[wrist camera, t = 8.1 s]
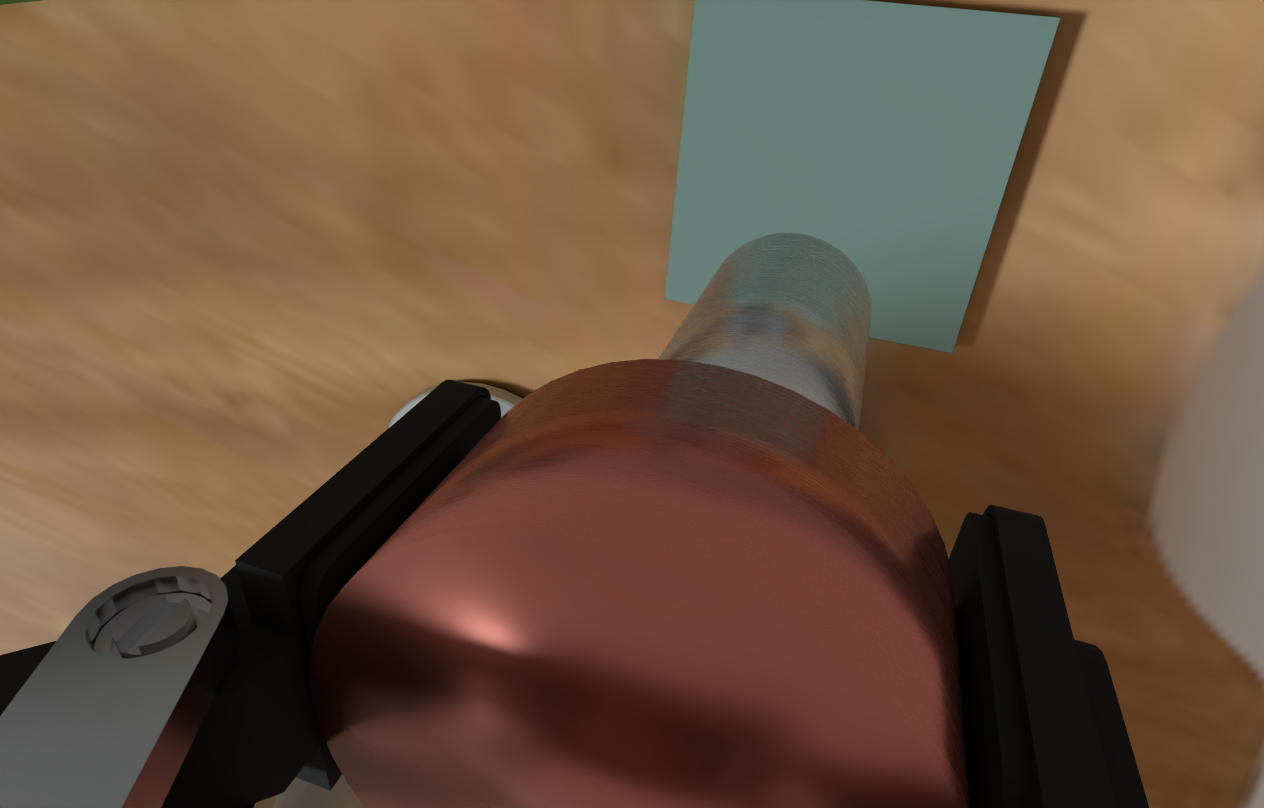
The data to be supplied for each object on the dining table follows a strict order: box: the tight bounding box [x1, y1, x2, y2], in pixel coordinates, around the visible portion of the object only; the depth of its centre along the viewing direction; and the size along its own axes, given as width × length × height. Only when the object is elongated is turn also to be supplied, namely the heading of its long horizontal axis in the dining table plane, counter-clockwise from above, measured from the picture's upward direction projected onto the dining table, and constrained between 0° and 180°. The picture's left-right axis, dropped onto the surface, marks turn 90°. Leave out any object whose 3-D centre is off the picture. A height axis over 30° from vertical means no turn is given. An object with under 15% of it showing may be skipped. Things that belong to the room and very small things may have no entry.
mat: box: [665, 0, 1060, 353], centre depth 29 cm, size 12×12×1 cm
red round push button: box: [310, 233, 970, 808], centre depth 12 cm, size 6×6×12 cm
